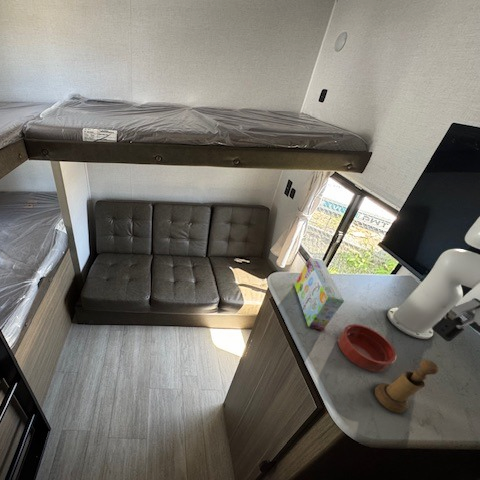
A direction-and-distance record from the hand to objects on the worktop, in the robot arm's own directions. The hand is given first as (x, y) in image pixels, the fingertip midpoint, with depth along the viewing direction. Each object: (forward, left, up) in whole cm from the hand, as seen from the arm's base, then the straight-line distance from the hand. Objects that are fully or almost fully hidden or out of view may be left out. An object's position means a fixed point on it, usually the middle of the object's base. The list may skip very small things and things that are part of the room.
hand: (458, 332), depth 53 cm
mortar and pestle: (-1, +1, -29) cm, 29 cm away
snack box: (0, -32, -29) cm, 43 cm away
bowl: (-5, -12, -29) cm, 32 cm away
